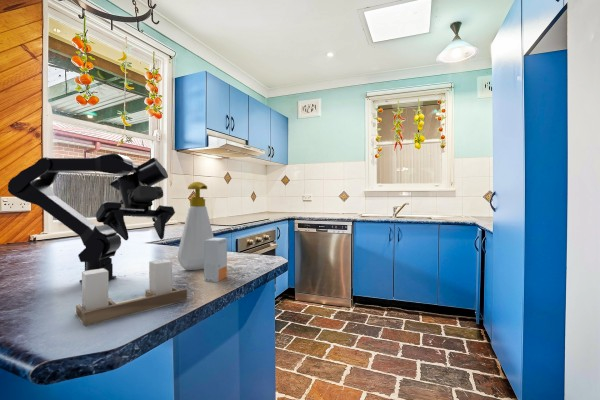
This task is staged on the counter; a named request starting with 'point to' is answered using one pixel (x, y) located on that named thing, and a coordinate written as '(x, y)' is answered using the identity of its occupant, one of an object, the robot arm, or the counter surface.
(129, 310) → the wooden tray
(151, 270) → the white rectangular block
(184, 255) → the soap bottle
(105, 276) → the white tall block
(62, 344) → the counter surface
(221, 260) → the skincare box
